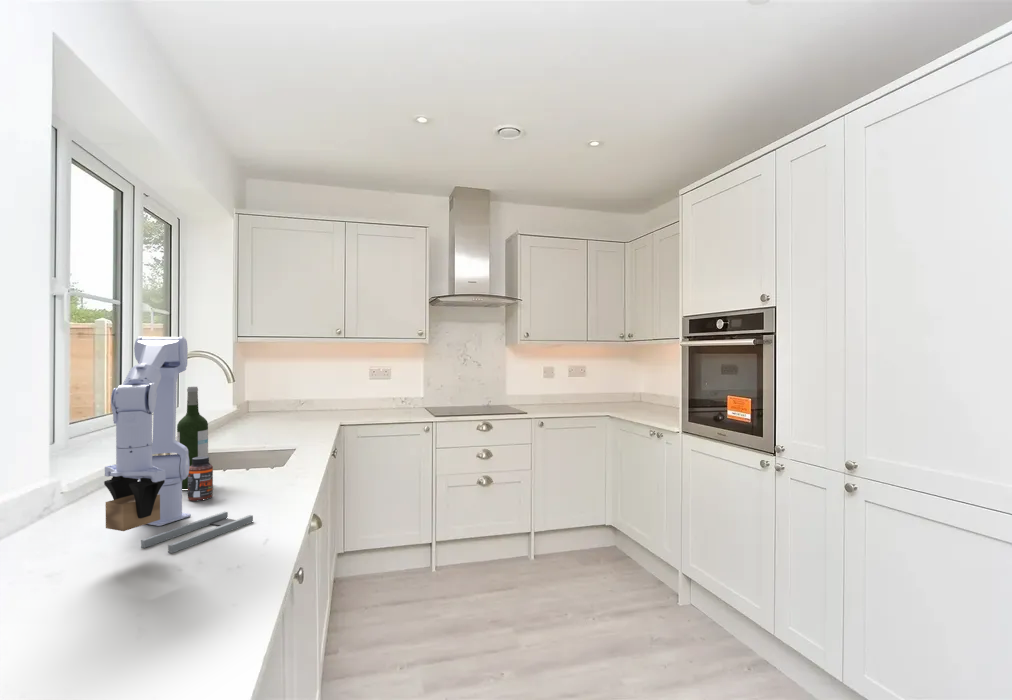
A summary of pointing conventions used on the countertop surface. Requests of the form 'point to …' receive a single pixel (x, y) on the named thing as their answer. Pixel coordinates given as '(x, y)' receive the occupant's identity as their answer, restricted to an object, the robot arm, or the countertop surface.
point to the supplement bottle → (200, 479)
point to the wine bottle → (193, 430)
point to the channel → (212, 520)
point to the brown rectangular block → (128, 514)
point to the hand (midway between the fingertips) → (134, 515)
